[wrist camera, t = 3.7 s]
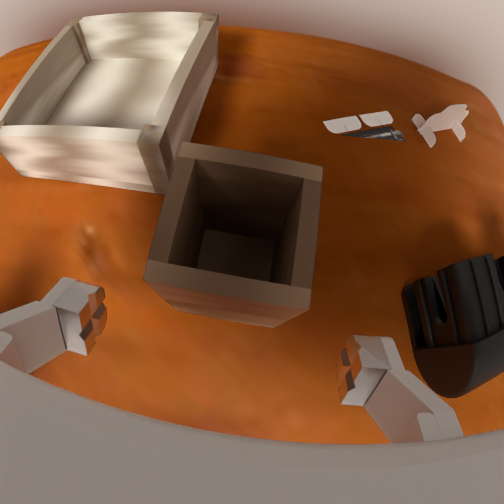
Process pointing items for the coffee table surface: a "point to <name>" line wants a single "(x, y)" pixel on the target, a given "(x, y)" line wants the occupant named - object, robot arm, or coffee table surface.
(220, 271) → the small crate
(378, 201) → the coffee table surface
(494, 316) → the end cap
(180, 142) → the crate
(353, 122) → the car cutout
